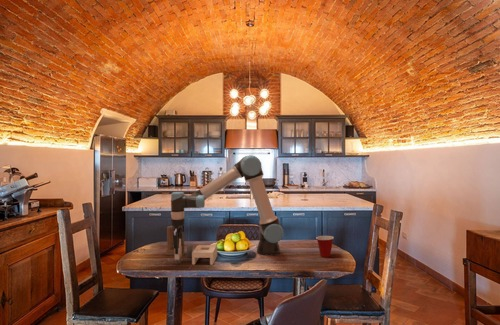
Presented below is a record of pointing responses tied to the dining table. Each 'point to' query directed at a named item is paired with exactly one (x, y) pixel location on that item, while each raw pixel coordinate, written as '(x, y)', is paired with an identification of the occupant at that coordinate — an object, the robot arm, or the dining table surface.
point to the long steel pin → (180, 252)
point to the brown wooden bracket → (170, 242)
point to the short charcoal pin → (189, 250)
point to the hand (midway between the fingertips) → (178, 258)
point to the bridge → (204, 253)
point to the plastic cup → (325, 245)
